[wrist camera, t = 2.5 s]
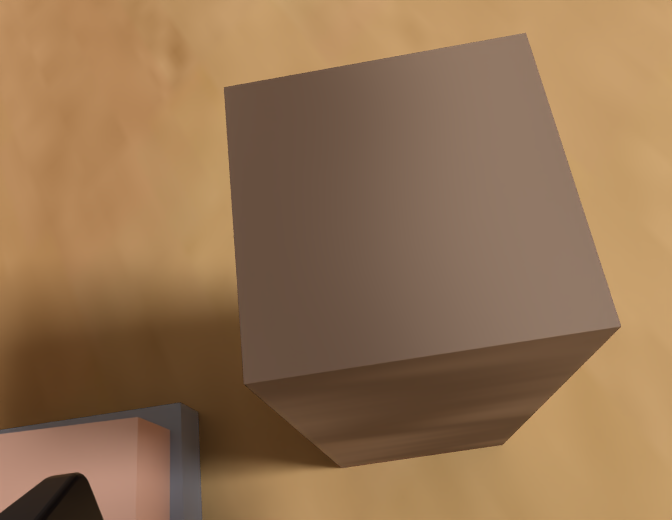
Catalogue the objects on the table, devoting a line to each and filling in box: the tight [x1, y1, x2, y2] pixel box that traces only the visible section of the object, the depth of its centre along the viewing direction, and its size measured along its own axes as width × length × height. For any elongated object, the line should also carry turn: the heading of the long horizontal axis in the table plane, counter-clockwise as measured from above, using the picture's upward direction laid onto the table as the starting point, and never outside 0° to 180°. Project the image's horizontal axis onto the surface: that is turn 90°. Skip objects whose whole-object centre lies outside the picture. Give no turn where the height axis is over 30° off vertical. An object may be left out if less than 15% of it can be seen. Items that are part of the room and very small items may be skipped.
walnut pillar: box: [224, 33, 621, 468], centre depth 13 cm, size 4×4×11 cm
